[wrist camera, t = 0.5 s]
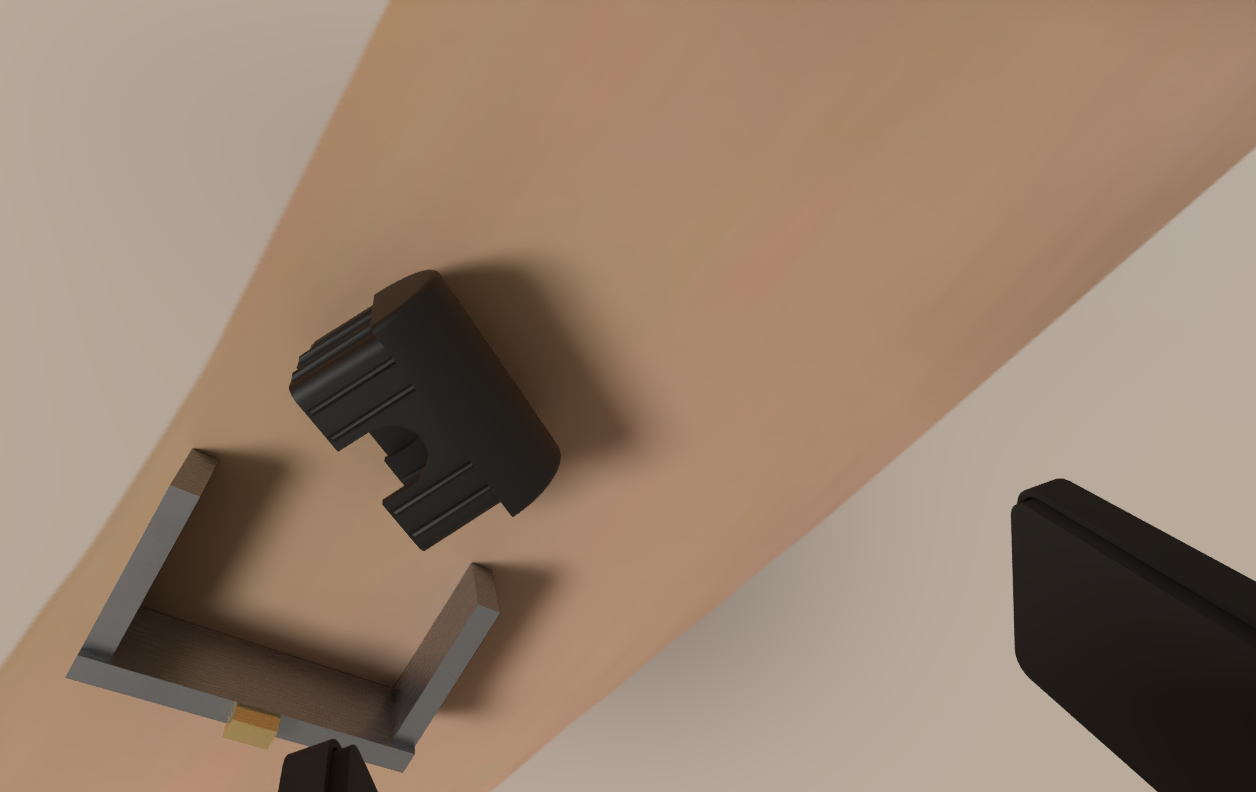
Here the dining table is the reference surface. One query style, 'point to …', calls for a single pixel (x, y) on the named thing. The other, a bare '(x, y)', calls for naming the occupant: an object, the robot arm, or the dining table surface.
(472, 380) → the end cap
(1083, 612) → the robot arm
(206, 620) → the dining table surface
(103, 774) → the dining table surface
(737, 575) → the dining table surface
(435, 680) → the steel cradle
